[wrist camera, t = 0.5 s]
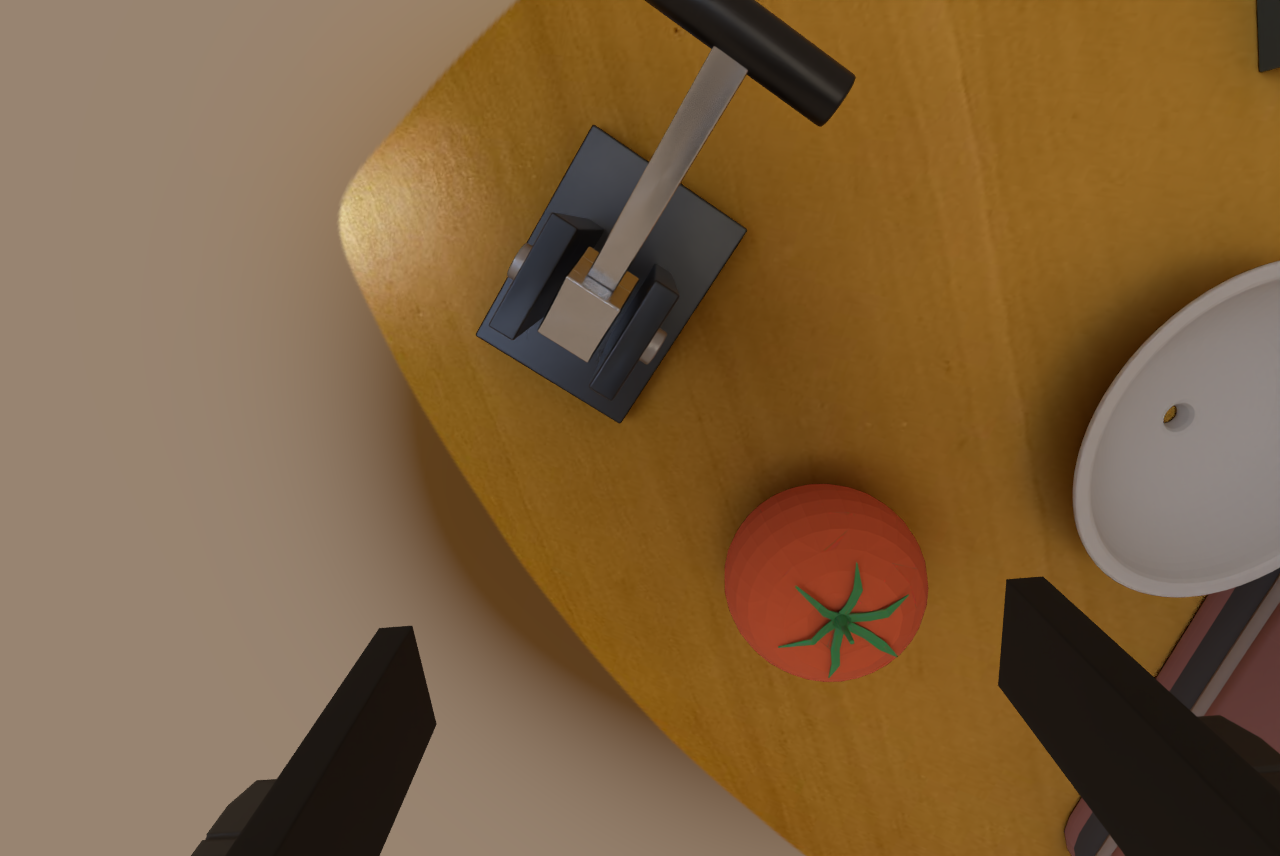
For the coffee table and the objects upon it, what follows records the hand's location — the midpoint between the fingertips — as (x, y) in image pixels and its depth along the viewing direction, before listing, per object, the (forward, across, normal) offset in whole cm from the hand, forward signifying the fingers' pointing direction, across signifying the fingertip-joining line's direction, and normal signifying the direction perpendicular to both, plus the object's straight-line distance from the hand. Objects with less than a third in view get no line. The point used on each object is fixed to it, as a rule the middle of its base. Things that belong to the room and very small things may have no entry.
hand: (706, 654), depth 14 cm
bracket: (+22, -3, +6) cm, 24 cm away
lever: (+10, 0, +10) cm, 15 cm away
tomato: (+22, +7, -9) cm, 25 cm away
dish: (+22, +27, -4) cm, 35 cm away
